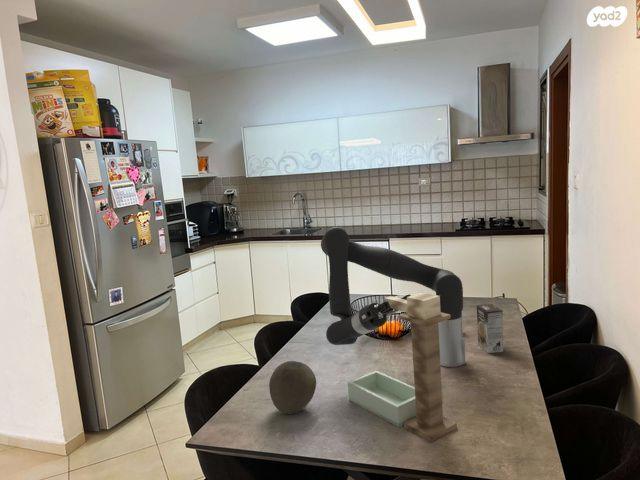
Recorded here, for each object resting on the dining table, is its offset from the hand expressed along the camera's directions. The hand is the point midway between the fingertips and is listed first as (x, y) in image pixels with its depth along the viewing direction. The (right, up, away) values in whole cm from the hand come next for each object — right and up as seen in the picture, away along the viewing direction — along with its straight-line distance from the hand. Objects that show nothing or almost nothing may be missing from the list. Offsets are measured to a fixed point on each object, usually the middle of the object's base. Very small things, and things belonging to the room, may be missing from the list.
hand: (399, 300), depth 133 cm
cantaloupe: (-30, -35, +14) cm, 48 cm away
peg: (+2, -2, -2) cm, 4 cm away
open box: (-2, -33, +11) cm, 35 cm away
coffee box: (+43, -24, +49) cm, 69 cm away
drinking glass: (+15, -23, +77) cm, 81 cm away
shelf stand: (+8, -34, -2) cm, 35 cm away
